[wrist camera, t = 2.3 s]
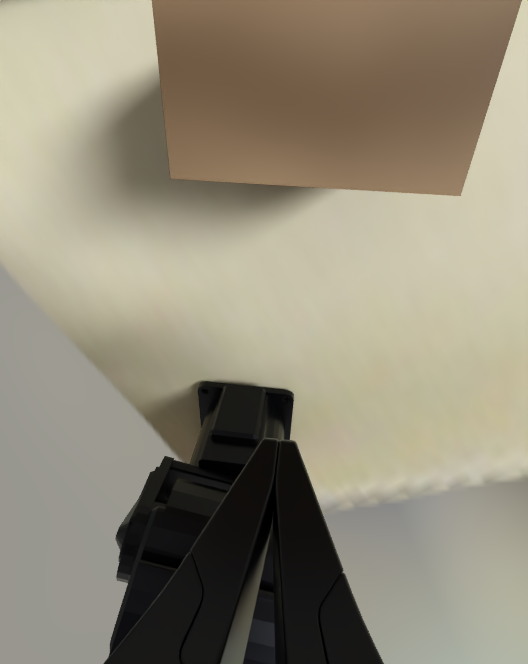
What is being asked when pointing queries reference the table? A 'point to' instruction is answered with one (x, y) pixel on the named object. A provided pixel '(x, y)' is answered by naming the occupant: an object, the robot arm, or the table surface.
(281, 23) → the block
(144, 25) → the table surface
